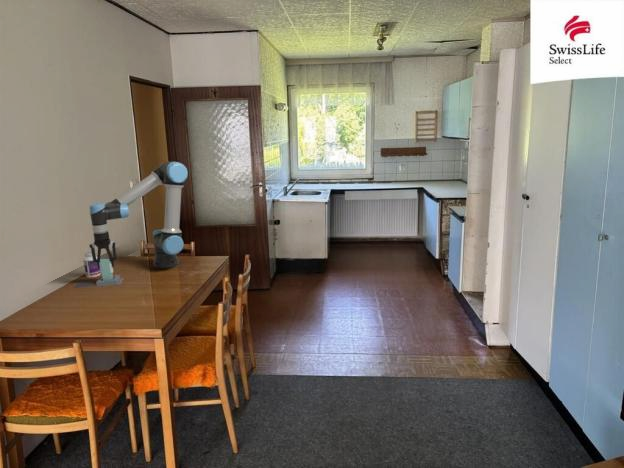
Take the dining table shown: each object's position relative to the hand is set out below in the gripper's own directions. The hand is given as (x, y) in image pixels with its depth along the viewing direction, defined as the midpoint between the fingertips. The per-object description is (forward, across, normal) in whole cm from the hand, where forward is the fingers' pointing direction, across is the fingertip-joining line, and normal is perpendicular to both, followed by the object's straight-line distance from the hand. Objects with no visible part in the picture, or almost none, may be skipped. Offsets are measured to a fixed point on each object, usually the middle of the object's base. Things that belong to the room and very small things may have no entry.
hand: (107, 272), depth 261 cm
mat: (+6, +13, -1) cm, 14 cm away
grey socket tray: (+6, 0, 0) cm, 6 cm away
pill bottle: (+7, +12, -18) cm, 23 cm away
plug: (+4, 0, 0) cm, 4 cm away
